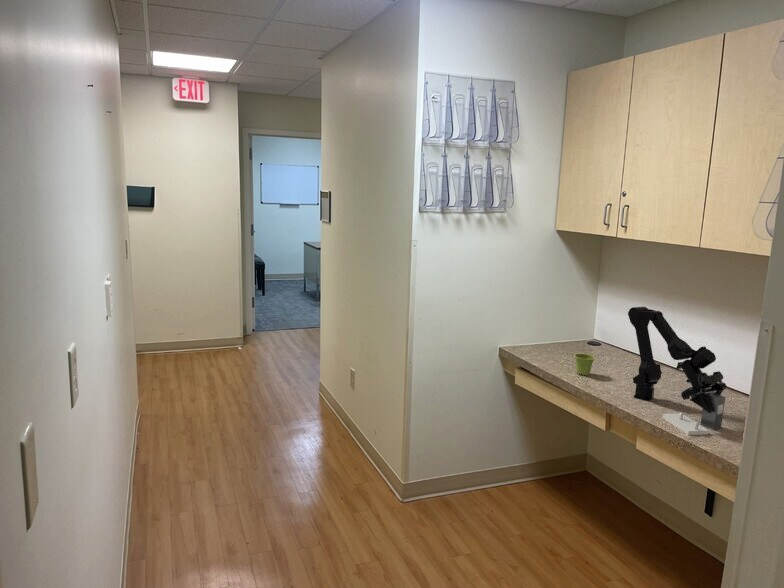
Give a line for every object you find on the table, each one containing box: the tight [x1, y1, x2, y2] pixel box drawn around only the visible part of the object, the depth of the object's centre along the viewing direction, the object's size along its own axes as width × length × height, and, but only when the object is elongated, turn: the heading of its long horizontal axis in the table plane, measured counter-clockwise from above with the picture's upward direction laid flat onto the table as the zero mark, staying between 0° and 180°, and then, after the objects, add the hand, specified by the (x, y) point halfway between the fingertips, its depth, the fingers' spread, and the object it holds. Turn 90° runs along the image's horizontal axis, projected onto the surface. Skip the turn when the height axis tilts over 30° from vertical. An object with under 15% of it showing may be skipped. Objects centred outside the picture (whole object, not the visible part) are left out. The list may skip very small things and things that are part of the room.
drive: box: [700, 392, 726, 431], centre depth 216 cm, size 6×4×12 cm
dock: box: [662, 411, 710, 436], centre depth 217 cm, size 16×8×4 cm, turn 7°
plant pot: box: [573, 353, 596, 376], centre depth 275 cm, size 9×9×9 cm
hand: (716, 411), depth 215 cm, fingers open, 6 cm apart
